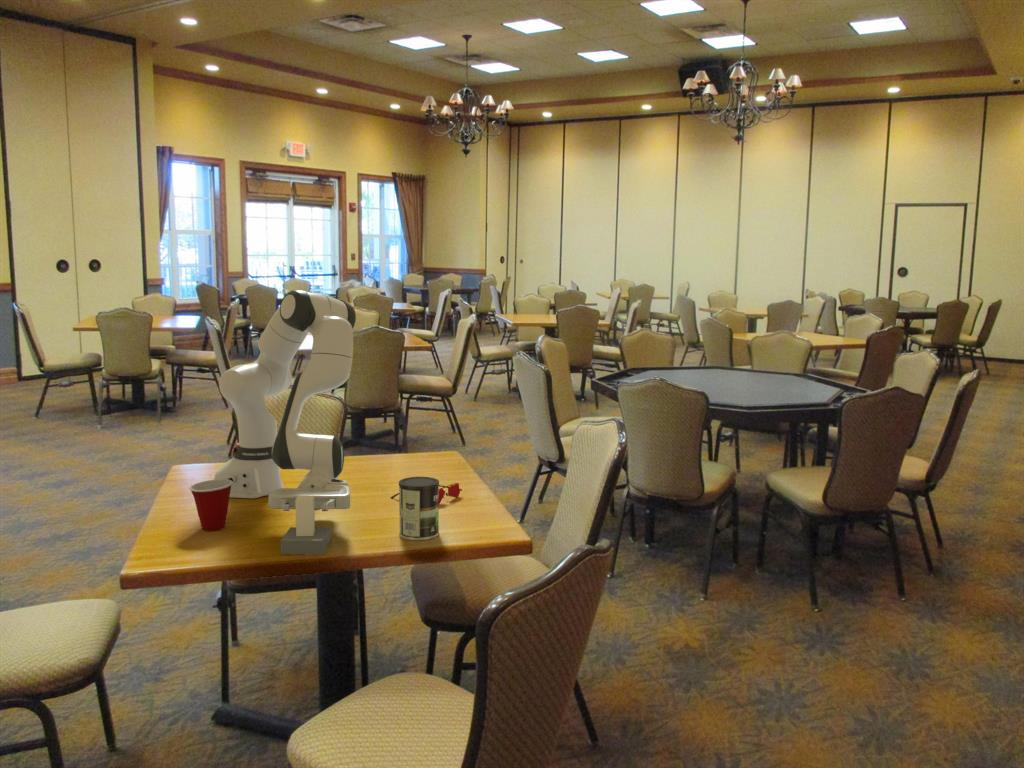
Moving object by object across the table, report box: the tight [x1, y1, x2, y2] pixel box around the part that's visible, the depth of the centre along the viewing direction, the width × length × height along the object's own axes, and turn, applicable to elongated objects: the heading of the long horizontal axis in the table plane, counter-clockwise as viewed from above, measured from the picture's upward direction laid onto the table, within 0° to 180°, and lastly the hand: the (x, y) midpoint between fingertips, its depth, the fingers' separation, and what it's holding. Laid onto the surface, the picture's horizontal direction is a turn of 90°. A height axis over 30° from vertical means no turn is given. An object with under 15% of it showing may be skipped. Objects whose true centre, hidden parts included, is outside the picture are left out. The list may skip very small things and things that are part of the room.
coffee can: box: [398, 476, 440, 541], centre depth 222 cm, size 10×10×14 cm
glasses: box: [390, 482, 463, 505], centre depth 256 cm, size 14×16×5 cm
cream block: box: [295, 496, 316, 536], centre depth 210 cm, size 4×4×9 cm
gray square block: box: [280, 526, 332, 556], centre depth 211 cm, size 10×10×4 cm
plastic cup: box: [188, 479, 233, 532], centre depth 224 cm, size 11×11×12 cm
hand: (305, 508), depth 210 cm, fingers open, 8 cm apart
